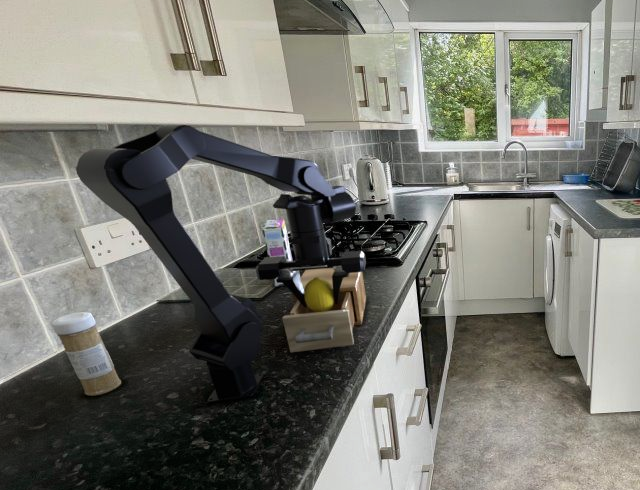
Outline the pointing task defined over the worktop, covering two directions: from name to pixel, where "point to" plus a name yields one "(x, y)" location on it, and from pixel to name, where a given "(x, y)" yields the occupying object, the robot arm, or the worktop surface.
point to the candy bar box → (276, 240)
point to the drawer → (321, 325)
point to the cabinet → (348, 284)
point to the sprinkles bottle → (87, 352)
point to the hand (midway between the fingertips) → (321, 305)
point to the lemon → (319, 295)
